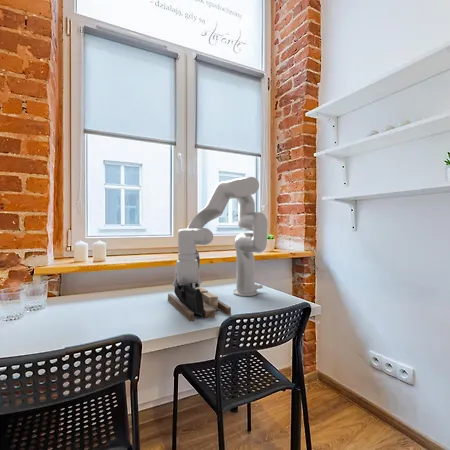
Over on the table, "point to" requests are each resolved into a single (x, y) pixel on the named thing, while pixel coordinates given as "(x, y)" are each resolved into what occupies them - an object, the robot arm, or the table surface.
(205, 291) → the offcut
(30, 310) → the table surface
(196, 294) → the magazine
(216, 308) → the offcut
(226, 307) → the rack
